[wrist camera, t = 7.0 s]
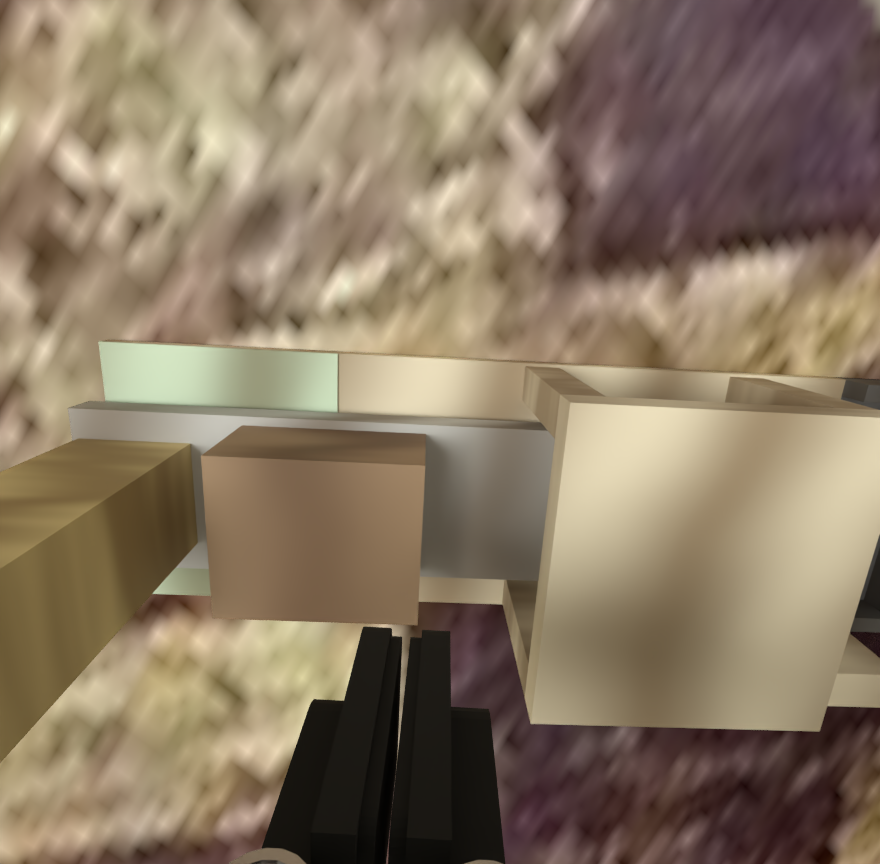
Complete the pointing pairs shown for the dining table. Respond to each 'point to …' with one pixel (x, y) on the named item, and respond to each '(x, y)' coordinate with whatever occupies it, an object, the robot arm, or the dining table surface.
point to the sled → (250, 524)
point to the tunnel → (628, 521)
